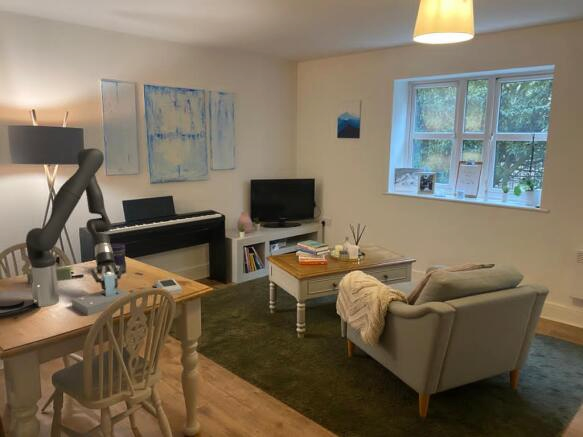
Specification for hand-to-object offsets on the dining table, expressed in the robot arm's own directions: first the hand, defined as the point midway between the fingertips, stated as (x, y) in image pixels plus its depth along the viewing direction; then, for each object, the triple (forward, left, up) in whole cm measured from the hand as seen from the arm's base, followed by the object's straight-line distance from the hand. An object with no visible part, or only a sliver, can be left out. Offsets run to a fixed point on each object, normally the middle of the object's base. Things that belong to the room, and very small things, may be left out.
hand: (110, 288), depth 197 cm
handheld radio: (-3, +48, -7) cm, 49 cm away
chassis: (-4, +1, -7) cm, 7 cm away
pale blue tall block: (+1, +2, -4) cm, 4 cm away
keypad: (+26, -4, -7) cm, 28 cm away
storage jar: (+23, +38, -7) cm, 45 cm away
